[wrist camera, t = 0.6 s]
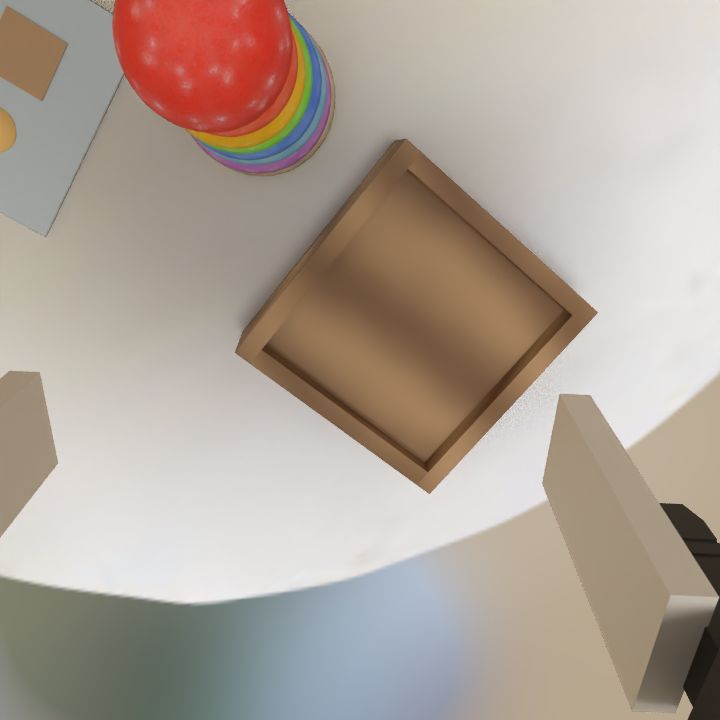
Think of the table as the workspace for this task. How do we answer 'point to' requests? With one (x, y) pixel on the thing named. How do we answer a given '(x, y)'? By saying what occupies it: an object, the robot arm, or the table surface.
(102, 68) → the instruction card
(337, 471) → the table surface
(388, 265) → the wooden tray
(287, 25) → the stacking toy
